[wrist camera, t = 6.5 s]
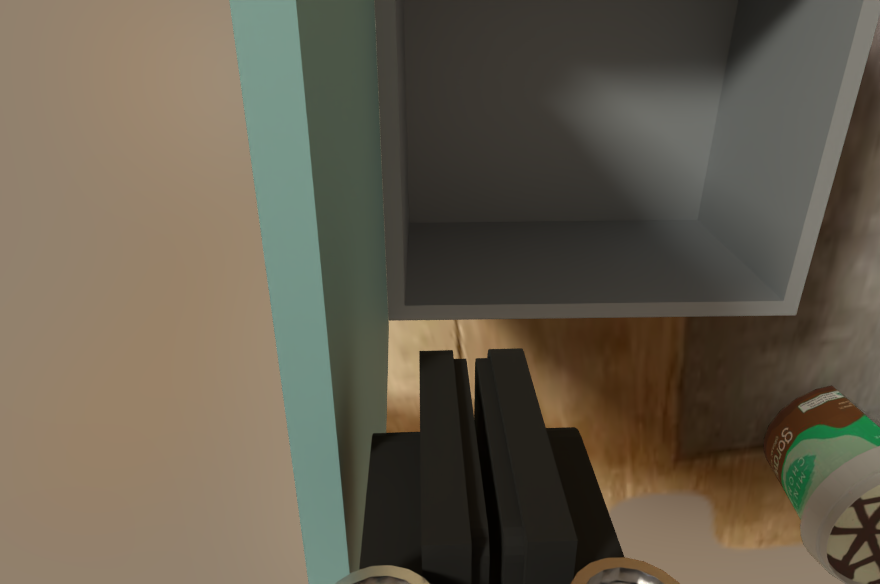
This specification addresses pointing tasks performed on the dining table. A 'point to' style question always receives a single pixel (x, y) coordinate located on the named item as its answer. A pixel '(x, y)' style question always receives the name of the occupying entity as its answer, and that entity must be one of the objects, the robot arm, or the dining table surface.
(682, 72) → the carton
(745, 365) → the dining table surface
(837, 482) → the food container
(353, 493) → the lid
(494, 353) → the robot arm
